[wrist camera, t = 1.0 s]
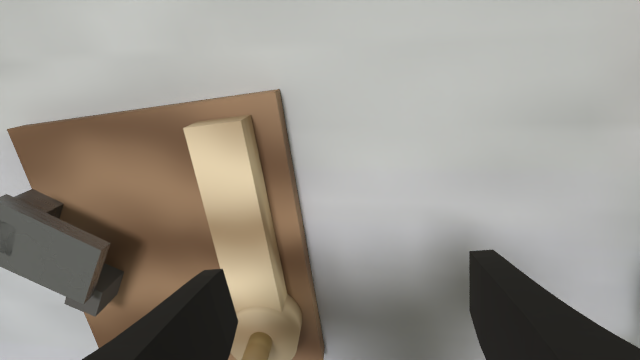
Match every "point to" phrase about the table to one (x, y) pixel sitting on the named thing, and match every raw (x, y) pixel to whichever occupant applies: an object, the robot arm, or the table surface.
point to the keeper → (49, 246)
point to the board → (164, 200)
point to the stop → (101, 291)
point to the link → (244, 237)
